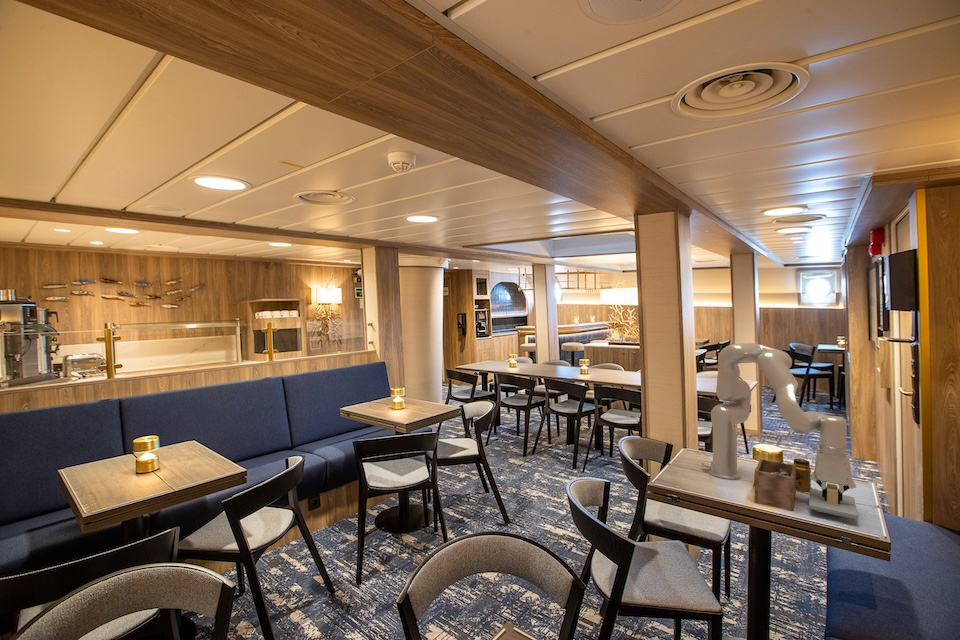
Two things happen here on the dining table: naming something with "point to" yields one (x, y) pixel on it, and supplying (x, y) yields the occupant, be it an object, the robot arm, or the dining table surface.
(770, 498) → the box
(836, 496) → the lid
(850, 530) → the dining table surface
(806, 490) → the condiment
